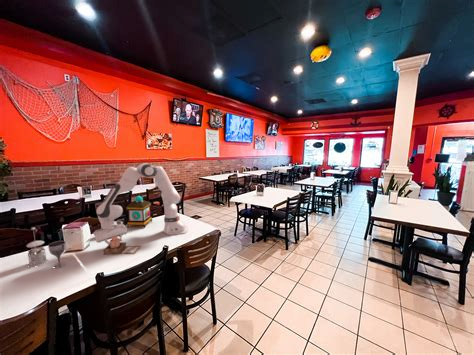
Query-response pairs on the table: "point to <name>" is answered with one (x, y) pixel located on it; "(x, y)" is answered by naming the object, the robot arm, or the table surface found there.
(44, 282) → the table surface
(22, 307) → the table surface
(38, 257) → the french press
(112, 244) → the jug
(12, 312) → the table surface
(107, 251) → the caddy
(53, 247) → the wine glass
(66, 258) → the table surface
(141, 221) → the decorative lantern
